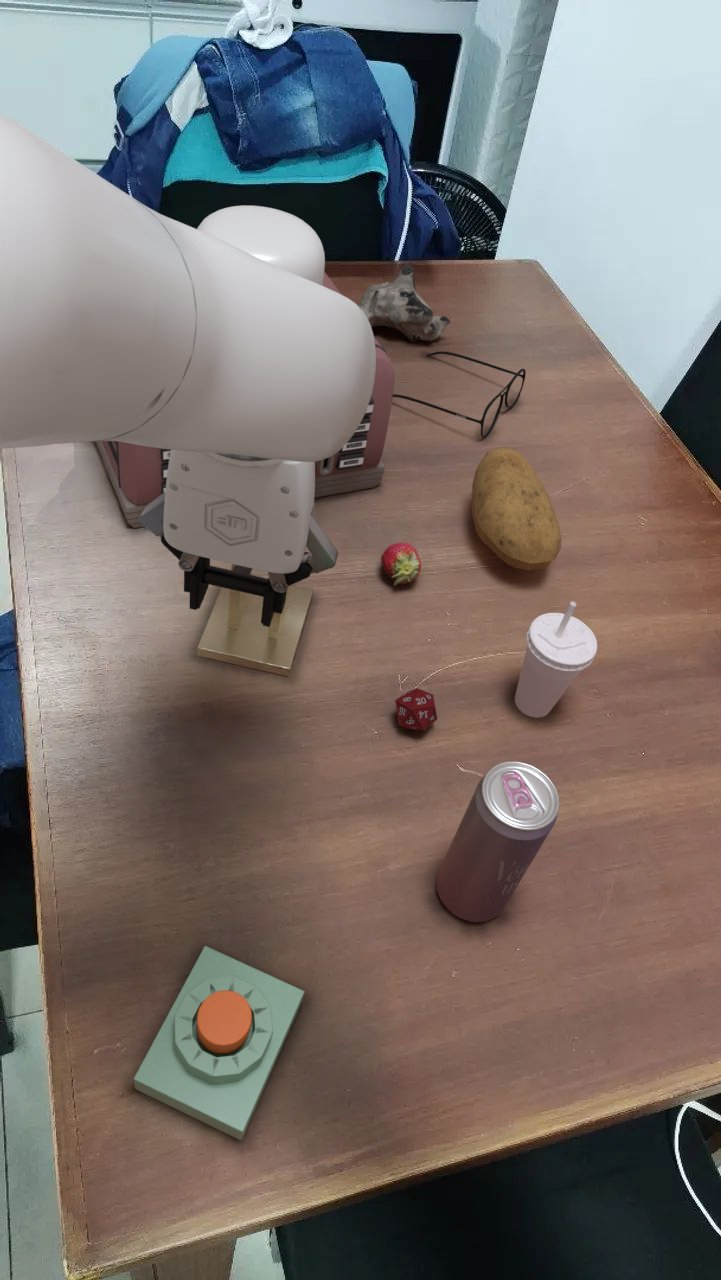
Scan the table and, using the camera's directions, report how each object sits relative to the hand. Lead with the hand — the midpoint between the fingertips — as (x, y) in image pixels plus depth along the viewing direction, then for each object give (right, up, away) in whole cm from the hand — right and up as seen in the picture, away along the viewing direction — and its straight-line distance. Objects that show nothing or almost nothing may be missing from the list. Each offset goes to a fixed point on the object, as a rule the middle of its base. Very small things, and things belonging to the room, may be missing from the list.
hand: (234, 604), depth 72 cm
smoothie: (+27, -9, +17) cm, 33 cm away
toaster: (-7, +22, +38) cm, 44 cm away
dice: (+15, -11, +13) cm, 23 cm away
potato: (+26, +8, +32) cm, 42 cm away
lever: (+1, +4, +4) cm, 6 cm away
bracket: (0, -1, +18) cm, 18 cm away
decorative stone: (+14, +42, +60) cm, 74 cm away
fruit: (+14, +4, +26) cm, 30 cm away
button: (+1, -29, -11) cm, 31 cm away
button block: (0, -31, -8) cm, 32 cm away
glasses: (+22, +30, +51) cm, 63 cm away
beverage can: (+19, -24, +3) cm, 30 cm away
